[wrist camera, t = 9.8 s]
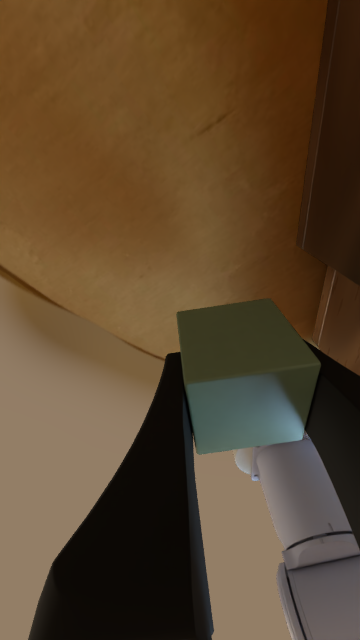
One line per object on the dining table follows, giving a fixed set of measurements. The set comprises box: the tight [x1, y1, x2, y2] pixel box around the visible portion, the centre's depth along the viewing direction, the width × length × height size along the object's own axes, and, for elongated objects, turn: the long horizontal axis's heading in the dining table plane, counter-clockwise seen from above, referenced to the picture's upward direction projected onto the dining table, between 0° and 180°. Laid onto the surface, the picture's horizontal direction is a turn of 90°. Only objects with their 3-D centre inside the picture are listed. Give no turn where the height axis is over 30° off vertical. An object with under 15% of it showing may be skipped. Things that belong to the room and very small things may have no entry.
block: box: [177, 298, 321, 455], centre depth 10 cm, size 4×4×4 cm
